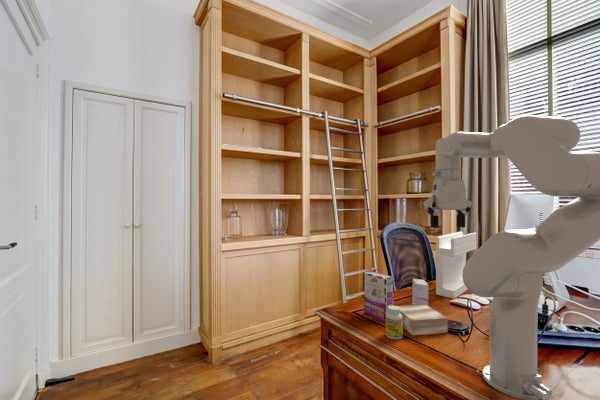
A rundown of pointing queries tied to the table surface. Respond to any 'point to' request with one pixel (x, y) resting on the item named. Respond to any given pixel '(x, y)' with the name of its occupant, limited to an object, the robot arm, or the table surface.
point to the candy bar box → (377, 294)
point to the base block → (423, 320)
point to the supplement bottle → (394, 323)
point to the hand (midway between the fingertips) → (447, 227)
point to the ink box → (420, 292)
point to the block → (452, 262)
